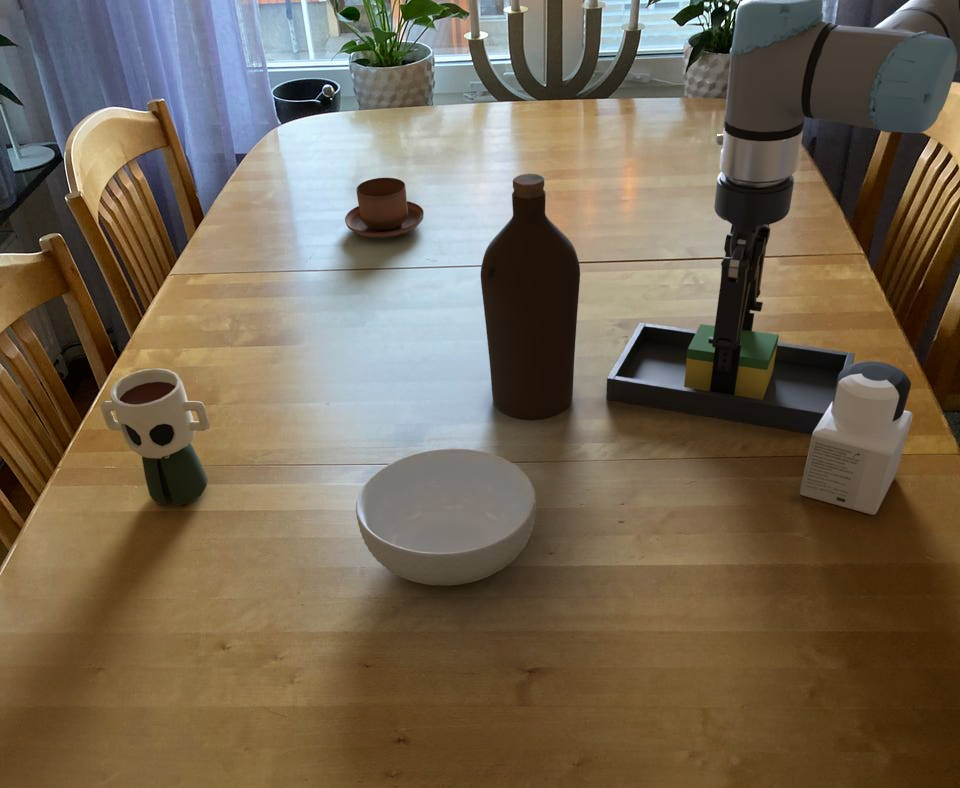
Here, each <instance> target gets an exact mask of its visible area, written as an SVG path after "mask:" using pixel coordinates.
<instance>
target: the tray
mask: <svg viewBox="0 0 960 788" xmlns="http://www.w3.org/2000/svg"><path fill="white" fill-rule="evenodd" d="M697 330H698V329H697ZM697 330H696V329H688V328H682V327H677V326H676V327H675V326H669V325H661V324H655V323H648V322H647V323H646V322H642V321H641V322H639V324H638V325H637V327H636V328H635V330H634V331H633V333H632V335H631V337H630V339H629V340H628V342H627V344H626V345H625V347H624V349H623V350H622V352H621V354H620V355H619V357H618V359H617V360H616V362H615V364H614V366H613V368H612V369H611V371H610V373H608V376H607V377H606V395H605V400H607V401H614V402H620V403H626V404H631V405H637V406H644V407H648V408H655V409H661V410H666V411H667V410H668V411H673V412H679V413H685V414H690V415H695V416H696V415H697V416H701V417H708V418H714V419H720V420H726V421H731V422H737V423H744V424H749V425H755V426H761V427H765V428H766V427H767V428H773V429H779V430H785V431H789V432H795V433H803V434H807V435H812V433H813V431H814V430H815V428H816V427H817V425H818V423H819V422H820V420H821V419H822V417H823V415H824V414H825V412H826V411H827V409H828V407H829V406H830V404H831V403H832V401H833V397H834V393H835V388H836V384H837V379H838V375H839V373H840V372H841V371H842V370H843V369H844V368H846V367H847V366H849V365H851V364H853V363H854V361H855V356H856V353H855V352H849V351H843V350H842V351H841V350H834V349H829V348H828V349H827V348H821V347H814V346H808V345H800V344H793V343H785V342H779V341H778V343H777V349H776V355H775V361H774V367H773V373H772V376H771V379H770V381H769V384H768V386H767V389H766V392H765V394H764V397H763V400H760V399H754V398H748V397H742V396H736V395H730V394H723V393H717V392H711V391H705V390H699V389H693V388H686V387H684V382H685V372H686V362H687V353H688V348H689V346H690V344H691V342H692V340H693V338H694V336H695V334H696V332H697Z"/></svg>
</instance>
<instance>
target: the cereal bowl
mask: <svg viewBox="0 0 960 788" xmlns="http://www.w3.org/2000/svg"><path fill="white" fill-rule="evenodd" d="M536 501H537V496H536V491H535V488H534V485H533V484H532V481H531V479H530V478H529V476H528V475H527V474H526V473H525V472H524V471H523V469H522V468H520V467H519V466H517V465H516V464H515V463H513V462H512V461H510V460H508V459H506V458H504V457H501V456H499V455H497V454H493V453H490V452H486V451H482V450H476V449H471V448H470V449H469V448H438V449H431V450H425V451H424V450H423V451H420V452H415V453H413V454H409V455H407V456H403V457H401V458H399V459H397V460H394V461H391V462H390V463H389V464H387V465H385V466H384V467H382V468H380V469H379V470H378V471H376V472H375V473H374V474H373V475H372V476H371V477H369V478H368V479H367V480H366V481H365V483H364V484H363V486H362V487H361V489H360V491H359V492H358V495H357V498H356V501H355V514H356V520H357V525H358V528H359V532H360V534H361V538H362V540H363V542H364V545H365V546H366V547H367V550H368V551H369V552H370V553H371V555H372V557H373V558H375V560H376V561H377V562H378V563H379V564H381V565H382V566H383V567H384V568H386V569H387V570H388V571H390V572H392V573H393V574H394V575H397V576H398V577H400V578H403V579H406V580H407V581H412V582H414V583H419V584H422V585H424V584H425V585H429V586H444V587H445V586H446V587H447V586H457V585H464V584H469V583H473V582H476V581H480V580H482V579H485V578H487V577H490V576H492V575H494V574H496V573H498V572H500V571H501V570H503V569H504V568H505V567H508V565H509V564H511V563H512V562H514V561H515V559H516V558H517V557H518V556H519V554H520V553H522V551H523V550H524V548H525V546H527V545H528V541H529V540H530V539H531V535H532V533H533V528H534V526H535V520H536V507H537V503H536Z"/></svg>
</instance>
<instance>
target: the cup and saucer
mask: <svg viewBox="0 0 960 788" xmlns="http://www.w3.org/2000/svg"><path fill="white" fill-rule="evenodd" d="M355 191H356V198H357V203H358V204H357V206H355V207H353V208H352V209H351V210H350V211H348V212H347V214H346V215H345V216H344V223H345V225H346V227H347V229H349V230H350V231H351V232H353V233H354V234H356V235H359V236H362V237H366V238H372V239H385V238H386V239H387V238H394V237H398V236H401V235H404V234H407V233H409V232H411V231H413V230H415V229H416V228H417V227H419V225H420V224H421V223H422V221H423V219H424V213H425V212H424V209H423V208H422V206H420V204H417V203H415V202H412V201H408V199H407V189H406V183H405V182H404V181H403V180H401V179H399V178H394V177H375V178H371V179H367V180H365V181H362V182H361V183H359V184H358V185H357V186H356V190H355Z"/></svg>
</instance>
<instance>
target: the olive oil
mask: <svg viewBox="0 0 960 788" xmlns="http://www.w3.org/2000/svg"><path fill="white" fill-rule="evenodd" d="M544 187H545V178H544V177H543V176H542V175H540V174H536V173H523V174H520V175H517V176H515V177H514V178H513V179H512V189H513V191H512V192H511V204H512V216H511V219H509V221H508V222H507V223H506V224H505V225H504V227H502V229H501V230H500V231H498V233H497V234H496V236H494V237H493V239H492V240H491V241H490V242H489V244H488V245H487V247H486V250H485V251H484V254H483V257H482V258H483V259H482V262H481V267H480V285H481V295H482V303H483V311H484V313H483V314H484V320H485V321H484V322H485V330H486V340H487V349H488V351H487V352H488V360H489V371H490V382H491V395H492V401H493V404H494V406H495V407H496V408H497V409H498V410H499V411H500V412H502V413H503V414H505V415H507V416H510V417H512V418H516V419H522V420H539V419H544V418H545V419H546V418H548V417H552V416H555V415H557V414H560V413H561V412H563V411H565V410H566V409H567V408H568V407H569V406H570V404H571V403H572V401H573V395H574V378H575V377H574V374H575V372H574V371H575V356H576V355H575V354H576V353H575V352H576V339H577V338H576V337H577V323H578V310H579V297H580V282H581V267H580V265H581V264H580V261H579V258H578V254H577V251H576V249H575V246H574V244H573V243H572V242H571V240H570V239H569V238H568V237H567V235H565V233H564V232H563V231H562V230H561V229H560V228H559V227H557V225H555V224H554V223H553V222H552V220H550V218H549V217H548V216H547V215H546V194H547V193H546V191H545V190H544Z"/></svg>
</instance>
